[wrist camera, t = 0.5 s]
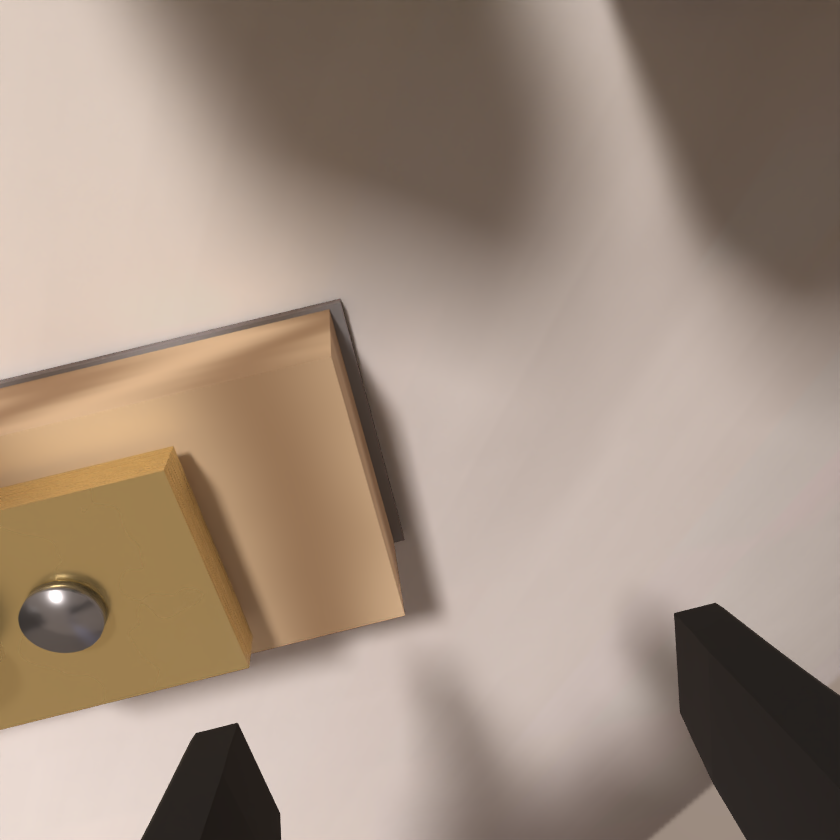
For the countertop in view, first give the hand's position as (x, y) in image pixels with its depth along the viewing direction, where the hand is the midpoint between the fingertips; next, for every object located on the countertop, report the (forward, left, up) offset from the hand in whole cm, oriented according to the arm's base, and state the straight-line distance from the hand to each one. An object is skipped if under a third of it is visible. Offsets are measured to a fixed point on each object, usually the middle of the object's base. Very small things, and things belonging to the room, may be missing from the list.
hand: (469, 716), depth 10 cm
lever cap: (-6, +6, -6) cm, 10 cm away
